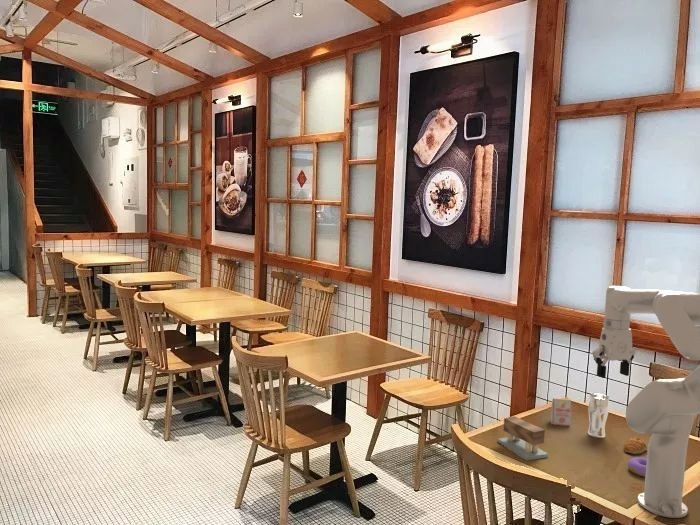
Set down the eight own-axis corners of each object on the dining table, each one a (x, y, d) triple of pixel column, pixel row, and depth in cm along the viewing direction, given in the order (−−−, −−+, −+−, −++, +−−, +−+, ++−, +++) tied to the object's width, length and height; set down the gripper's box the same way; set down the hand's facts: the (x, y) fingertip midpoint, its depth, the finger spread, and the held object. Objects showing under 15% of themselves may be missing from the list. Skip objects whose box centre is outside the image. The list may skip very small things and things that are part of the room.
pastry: (639, 457, 196) (640, 447, 196) (618, 451, 201) (619, 441, 200) (647, 450, 203) (648, 439, 202) (627, 444, 207) (628, 434, 207)
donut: (630, 461, 192) (635, 448, 191) (660, 475, 186) (664, 462, 185) (622, 471, 184) (627, 458, 183) (653, 486, 179) (658, 473, 177)
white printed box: (550, 421, 228) (552, 396, 227) (568, 422, 227) (569, 398, 226) (552, 424, 224) (553, 399, 223) (570, 426, 223) (571, 401, 222)
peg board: (547, 457, 193) (548, 444, 193) (525, 460, 190) (526, 447, 190) (518, 439, 208) (519, 426, 208) (497, 441, 205) (498, 429, 205)
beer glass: (585, 435, 213) (588, 397, 212) (587, 429, 220) (590, 392, 218) (605, 439, 210) (608, 400, 209) (607, 433, 216) (610, 395, 215)
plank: (543, 442, 194) (544, 429, 194) (533, 445, 192) (534, 432, 191) (513, 428, 206) (514, 416, 206) (503, 430, 204) (504, 418, 203)
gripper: (604, 327, 178) (600, 381, 180) (646, 325, 184) (642, 377, 186) (586, 323, 185) (583, 374, 187) (627, 321, 191) (624, 370, 193)
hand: (612, 375), depth 186 cm, fingers open, 9 cm apart
